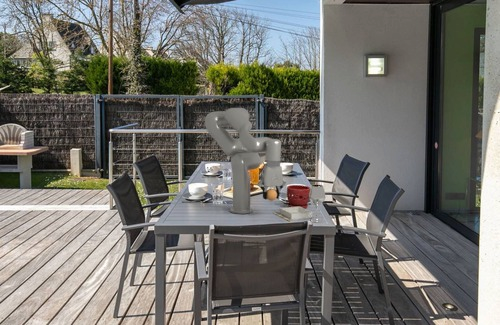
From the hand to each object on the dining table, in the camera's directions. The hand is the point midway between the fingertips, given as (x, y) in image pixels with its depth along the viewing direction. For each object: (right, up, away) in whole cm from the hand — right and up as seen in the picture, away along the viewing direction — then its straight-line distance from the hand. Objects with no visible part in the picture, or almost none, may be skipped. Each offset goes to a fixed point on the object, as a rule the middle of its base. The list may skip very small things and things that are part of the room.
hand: (271, 198), depth 250 cm
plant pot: (+16, -7, +25) cm, 31 cm away
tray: (+13, -10, +7) cm, 18 cm away
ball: (0, -1, 0) cm, 1 cm away
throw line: (+6, -10, +3) cm, 12 cm away
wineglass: (+23, -11, -4) cm, 26 cm away
